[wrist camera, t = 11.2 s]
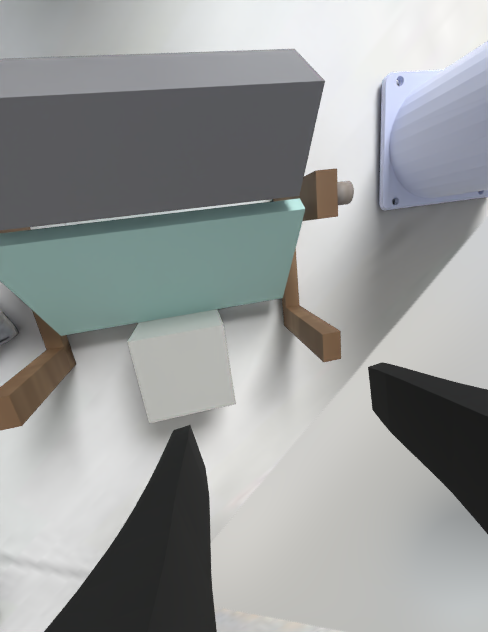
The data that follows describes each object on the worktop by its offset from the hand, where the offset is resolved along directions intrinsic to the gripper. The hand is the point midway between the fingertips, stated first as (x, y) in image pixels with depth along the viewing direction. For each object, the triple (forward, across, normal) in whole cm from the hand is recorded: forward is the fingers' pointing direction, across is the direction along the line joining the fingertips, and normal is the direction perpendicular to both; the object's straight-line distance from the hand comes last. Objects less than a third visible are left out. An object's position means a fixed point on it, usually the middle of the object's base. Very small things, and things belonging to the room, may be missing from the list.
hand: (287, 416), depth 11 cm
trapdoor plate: (+7, +3, -9) cm, 12 cm away
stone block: (+8, +4, -3) cm, 9 cm away
